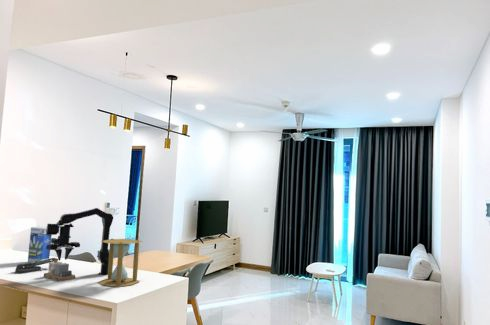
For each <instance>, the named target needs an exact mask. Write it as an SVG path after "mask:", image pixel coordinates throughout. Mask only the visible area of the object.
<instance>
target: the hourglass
mask: <svg viewBox="0 0 490 325" xmlns="http://www.w3.org/2000/svg"><path fill="white" fill-rule="evenodd" d="M102 242H105V243H108V244H109V247H108V251H109V260H108V274H107V278H105V279H102V280H99V281H98V283H99V284H100V285H102V286H107V287H116V288H117V287H118V288H119V287H126V286H133V285H135V284H137V283H140V280H138V270H139V255H140V253H139V252H140V251H139V250H140V243H141V242H143V241H142V240H139V239H129V238H109V240H104V241H102V240H101V243H102ZM131 244H134V249H133V251H134V252H133V260H132V261H133V266H132V277H128V272H127V270H126V268H125V266H124V264H123V261H124V260H123V259H124V258H125V256H126V254H127V252H129V249H130V245H131ZM115 254H116V256H117V262H116V263H117V264H116V267H114V255H115ZM113 268H114V269H113Z"/></svg>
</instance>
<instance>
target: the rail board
mask: <svg viewBox="0 0 490 325" xmlns="http://www.w3.org/2000/svg"><path fill="white" fill-rule="evenodd" d="M61 263H63V262H62V261H60V260H58V261H57V260H56V261H54V262H50V263H48V272H44V273H43V277H44V278H47V279H50V280H53V281H57V282H63V281H69V280H74V279H76V274H74V273H73V272H72V271H73V270H69V269H68V271H63V272H62V274H60V276H57V275H55V264H61ZM72 273H73V274H72Z"/></svg>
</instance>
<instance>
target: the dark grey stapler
mask: <svg viewBox="0 0 490 325" xmlns="http://www.w3.org/2000/svg"><path fill="white" fill-rule="evenodd" d="M56 260H57V261H59V260H58V257H57V258H56V257H51V258H50V257H49V259H47V260H43V261H39V262H35V263H29V262H26V263H19V264H17V265H16V267H15V268H14V269H15V271H14V273H15V274H19V275H21V274H29V273H36V272H41V270H42V265H45V264H46V265H47V264H49V263H51V262H54V261H56Z"/></svg>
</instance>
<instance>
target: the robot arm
mask: <svg viewBox="0 0 490 325" xmlns="http://www.w3.org/2000/svg"><path fill="white" fill-rule="evenodd" d="M95 215H96V216H98V217H100V218H101V223H102V233H101V234H102V235H101V245H100V250H97V256H96V257H97V260H98V261H99V262H100V264H101V265H100V272H98V274H99V275H103V276H106V275H107V276H108V260H109V243H105V242H102V241H104V240H109V239H110V231H111V229H110V228H111V226H112V224H113V220H114V215H113V214H112V213H108V212H105V211H103V210H101V209H100V208H99V207H94V208H91V209H88V210H83V211H80V212H75V213H64V214H62V215H60V217H59V220H58V221H57V222H56V223H47V225H46V227H47V229H46V235H52V236H54V235H55V236H56V235H58V234H59V235H58V236H57V238H56V237H51V244H48V245H47V246H46V249H49V250H50V251H55V254H56V257H57V259H58V261H61V258H62V252H63V249H62V248H64V251H65V252H64V253H65V254H64V260H66V261H67V259H68V257H69V255H70V254H71V253H72V251H73V250H74V249H75V248H80V247H81V244H80V242H77V241H71V242H70V239H71V238H72V237H71V228H74V225H73V222H75V221H77V220H79V219H83V218H88V217H90V216H95Z"/></svg>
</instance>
